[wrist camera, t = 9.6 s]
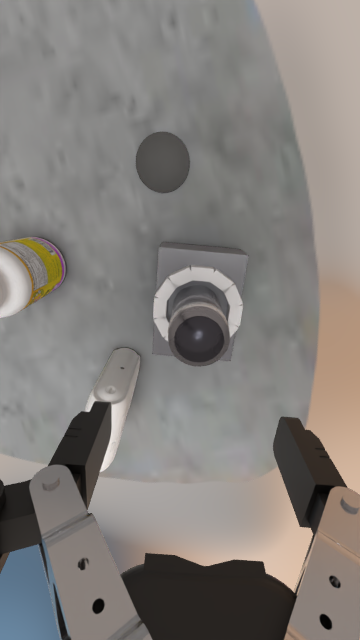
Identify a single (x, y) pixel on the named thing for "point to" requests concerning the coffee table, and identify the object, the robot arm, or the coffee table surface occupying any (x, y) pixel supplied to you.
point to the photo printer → (116, 393)
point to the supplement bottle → (28, 272)
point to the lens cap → (162, 162)
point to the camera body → (198, 269)
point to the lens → (198, 327)
